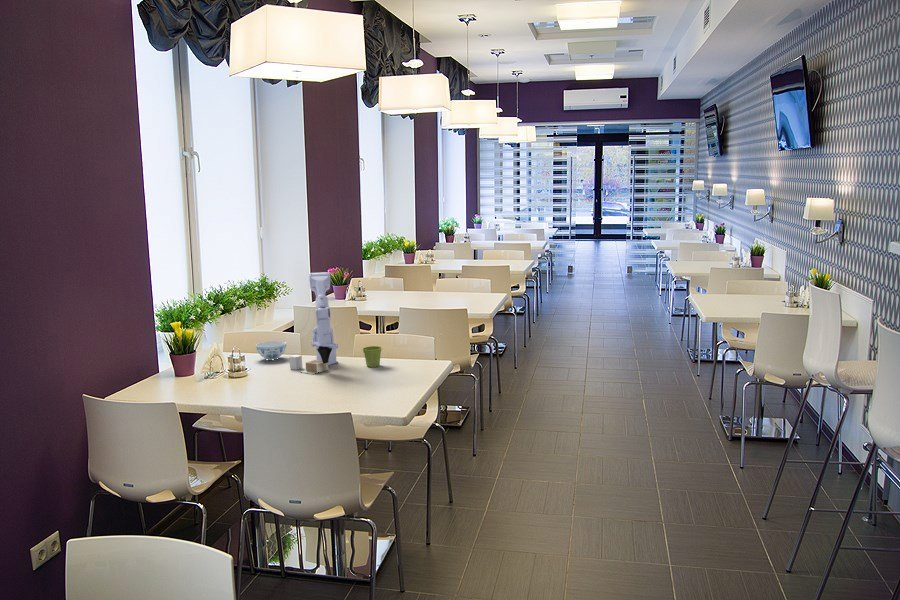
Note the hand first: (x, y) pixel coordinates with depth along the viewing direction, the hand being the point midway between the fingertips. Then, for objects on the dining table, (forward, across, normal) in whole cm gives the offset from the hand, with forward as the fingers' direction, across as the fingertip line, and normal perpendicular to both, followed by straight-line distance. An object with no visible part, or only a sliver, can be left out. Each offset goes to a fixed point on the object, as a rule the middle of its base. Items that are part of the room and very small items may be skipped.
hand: (325, 362), depth 359 cm
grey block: (+4, -18, 0) cm, 19 cm away
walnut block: (+2, -2, 0) cm, 3 cm away
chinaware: (+4, -44, +10) cm, 46 cm away
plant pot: (+5, +11, +20) cm, 24 cm away
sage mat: (+4, -7, 0) cm, 8 cm away
